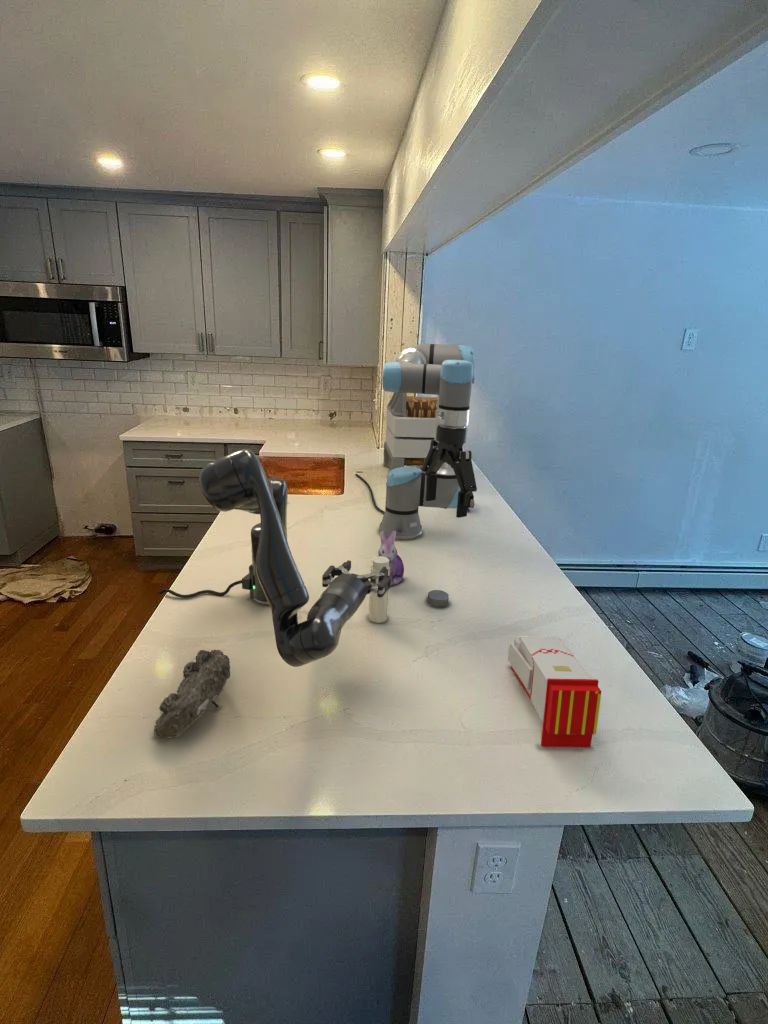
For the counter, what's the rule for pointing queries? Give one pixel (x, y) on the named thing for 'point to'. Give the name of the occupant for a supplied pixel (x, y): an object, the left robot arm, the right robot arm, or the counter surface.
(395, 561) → the figurine
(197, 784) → the counter surface
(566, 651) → the toy
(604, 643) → the counter surface
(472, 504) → the figurine character
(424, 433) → the grey brown slatted box
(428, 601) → the lid
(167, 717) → the fossil
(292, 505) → the counter surface
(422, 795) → the counter surface
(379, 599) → the jar
